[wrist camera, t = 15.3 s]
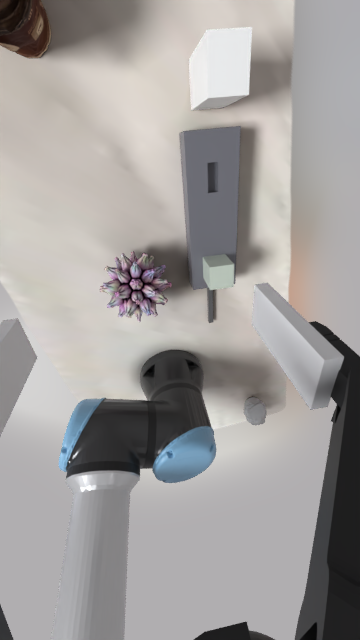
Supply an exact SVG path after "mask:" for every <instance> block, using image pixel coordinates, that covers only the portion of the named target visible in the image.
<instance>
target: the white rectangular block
mask: <svg viewBox="0 0 360 640" xmlns="http://www.w3.org/2000/svg"><path fill="white" fill-rule="evenodd" d="M251 38H252V27H244V28H228V29H211V30H206V32H205V34H204V35H203V37H202V39H201V40H200V42H199V44H198V45H197V47H196V49H195V50H194V52H193V54H192V55H191V57H190V59H189V74H190V95H191V111H192V110H204V109H215V108H224V107H226V106H228V105H230V104H232V103H234V102H236V101H238V100H240V99H242V98H244V97H246V96H248V95H249V82H250V60H251Z"/></svg>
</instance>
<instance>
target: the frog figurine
mask: <svg viewBox="0 0 360 640" xmlns="http://www.w3.org/2000/svg"><path fill="white" fill-rule="evenodd" d="M244 414H245V416H246V419H247V420H248V421H249V422H250V423H251V424H252V425H260V424H263V423H264V422H265V418H266V406H265V404H264V403H263V402H262V401H261V400H259V399H258V398H255V397H251V398H249V399H247V400H246V402H245V405H244Z"/></svg>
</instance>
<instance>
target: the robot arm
mask: <svg viewBox="0 0 360 640" xmlns="http://www.w3.org/2000/svg"><path fill="white" fill-rule="evenodd" d="M252 326H253V327H254V329H255V330H256V332H257V333H258V334H259V336H260V337H261V339H262V340H263V342H264V343H265V345H266V346H267V347H268V349H269V350H270V352H271V353H272V355H273V356H274V358H275V359H276V360H277V362H278V363H279V365H280V366H281V368H282V369H283V371H284V372H285V374H286V375H287V376H288V378H289V379H290V381H291V382H292V383H293V385H294V386H295V388H296V389H297V391H298V392H299V394H300V395H301V397H302V398H303V399H304V401H305V402H306V404H307V405H308V407H309V408H310V410H312V409H318V408H323V407H327V406H328V404H329V401H330V398H331V397H332V398H333V400H334V401H335V402H336V403H337V406H336V409H335V411H334V414H333V417H332V420H331V421H332V422H333V427H332V432H331V439H330V445H329V451H328V457H327V463H326V469H325V475H324V481H323V487H322V494H321V499H320V506H319V512H318V518H317V525H316V530H315V537H314V543H313V549H312V554H311V560H310V567H309V573H308V579H307V585H306V591H305V596H304V600H303V603H302V607H301V610H300V615H299V619H298V624H297V630H296V636H295V640H360V357H359V356H358V355H357V354H356V353H355V352H354V351H353V350H352V349H351V348H350V347H348V346H347V345H346V344H345V343H344V342H343V341H342V340H340V338H338V337H337V336H336V335H334V333H333V332H332V331H331V330H330V329H328V328H327V327H326V326H324V325H322V324H320V323H318V322H316V321H315V322H307V320H305V319H304V318H303V317H302V316H301V315H300V314H299V313H298V312H297V311H296V310H295V309H294V308H293V307H292V306H291V305H290V304H289V303H288V302H287V301H286V300H285V299H284V298H283V297H282V296H281V295H280V294H279V293H278V292H277V291H275V290H274V289H273V288H272V287H271V286H270V285H269V284H268V283H262V284H255V287H254V300H253V313H252ZM36 359H37V356H36V354H35V352H34V350H33V348H32V346H31V344H30V342H29V340H28V338H27V336H26V334H25V332H24V330H23V328H22V326H21V324H20V322H19V320H18V319H11V320H4V321H2V322H1V324H0V436H1V434H2V432H3V429H4V427H5V425H6V423H7V421H8V419H9V417H10V415H11V412H12V410H13V408H14V406H15V404H16V402H17V399H18V397H19V395H20V393H21V391H22V389H23V387H24V384H25V383H26V380H27V378H28V376H29V374H30V372H31V370H32V368H33V365H34V363H35V361H36ZM203 378H204V376H203V370H202V367H201V364H200V362H199V360H198V359H197V358H196V357H195V356H193V355H192V354H190V353H188V352H185V351H180V350H170V351H165V352H161V353H159V354H156V355H155V356H153V357H151V358H150V359H149V360H148V361H147V362H146V363H145V364H144V366H143V368H142V370H141V374H140V380H141V387H142V390H143V392H144V394H145V396H146V398H147V400H148V401H144V400H123V399H106V398H102V399H85V400H82V401H81V402H80V403H78V405H77V406H76V408H75V409H74V411H73V413H72V416H71V418H70V421H69V423H68V426H67V430H66V433H65V436H64V440H63V444H62V445H63V447H62V449H61V453H60V457H59V468H60V469H61V470H63V471H64V472H66V471H67V476H66V484H67V486H68V487H69V488H70V489H71V491H72V493H73V495H74V496H73V502H72V509H71V515H70V522H69V528H68V534H67V541H66V547H65V553H64V559H63V566H62V574H61V579H60V585H59V591H58V598H57V604H56V610H55V617H54V623H53V629H52V636H51V640H124V628H125V603H126V579H127V553H128V528H129V504H130V492H131V490H132V488H133V487H134V486H135V485H136V484H137V482H138V481H139V479H140V469H142V468H153V473H154V474H155V477H156V478H157V479H158V480H160V481H163V482H165V483H176V482H180V481H185V480H188V479H190V478H193V477H195V476H197V475H198V474H200V473H202V472H203V471H204V470H206V469H207V468H208V467H209V466H210V464H211V463H212V462H213V460H214V458H215V455H216V444H215V440H214V431H213V429H212V427H211V424H210V421H209V417H208V414H207V410H206V407H205V404H204V400H203V397H202V386H203ZM0 640H13V637H12V635H11V632H10V629H9V627H8V624H7V621H6V619H5V616H4V614H3V611H2V608H1V605H0ZM194 640H274V639H273V638H271V637H269V636H267V635H264V634H261V633H258V632H254V631H249V630H248V626H247V622H243V623H239V624H235V625H231V626H227V627H223V628H219V629H215V630H211V631H207V632H204V633H203V634H201V635H200V636H198V637H197V638H195V639H194Z"/></svg>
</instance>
